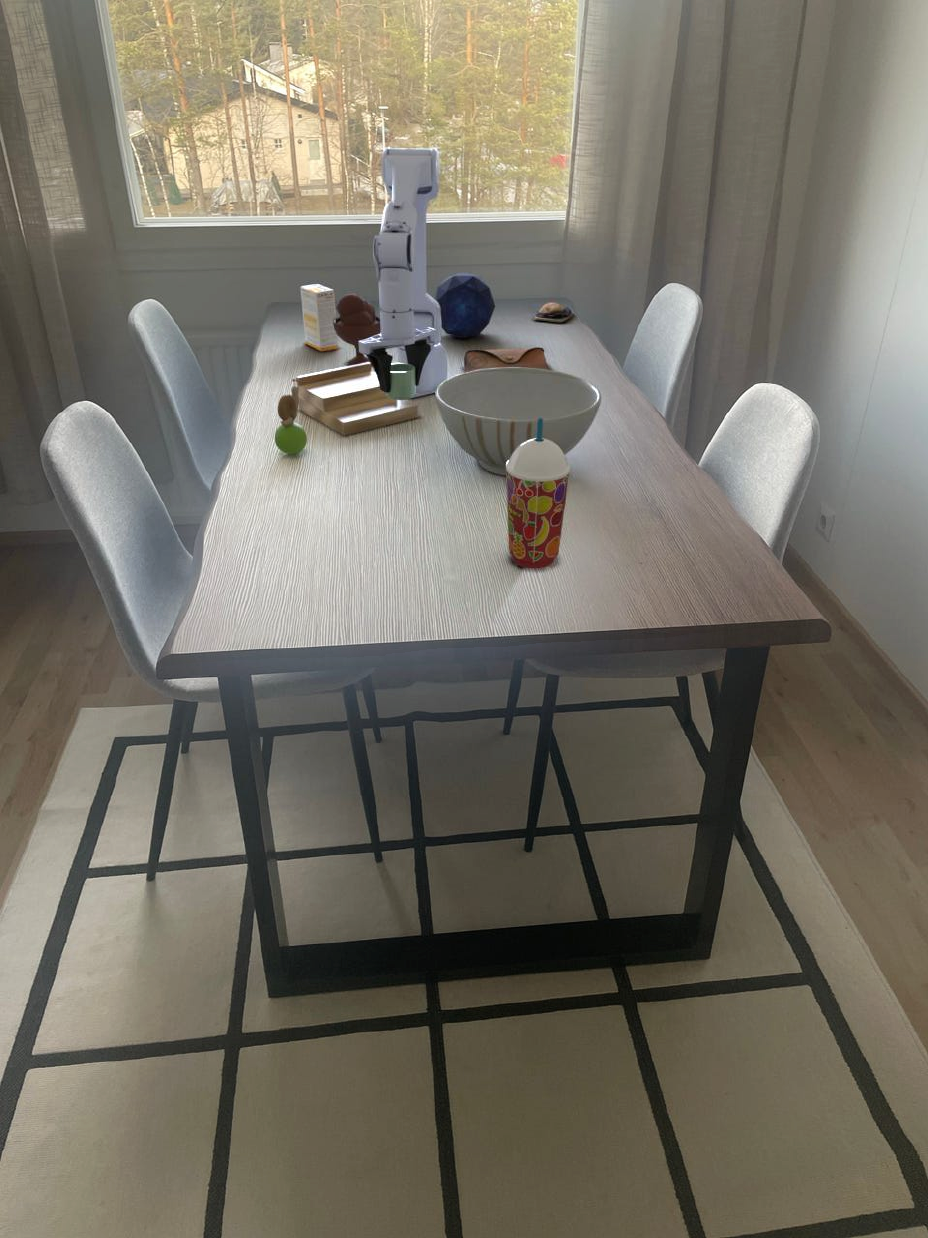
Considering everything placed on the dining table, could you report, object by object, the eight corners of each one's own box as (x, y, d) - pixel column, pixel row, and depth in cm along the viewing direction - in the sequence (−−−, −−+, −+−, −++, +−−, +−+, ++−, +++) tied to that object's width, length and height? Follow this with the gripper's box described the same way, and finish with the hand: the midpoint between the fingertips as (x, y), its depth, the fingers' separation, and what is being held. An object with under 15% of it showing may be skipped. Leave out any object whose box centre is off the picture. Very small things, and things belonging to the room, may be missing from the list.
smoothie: (499, 546, 129) (503, 408, 119) (558, 544, 130) (567, 406, 119) (506, 575, 122) (511, 431, 112) (568, 573, 123) (579, 430, 112)
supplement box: (339, 348, 212) (335, 289, 205) (320, 352, 209) (315, 292, 202) (323, 340, 217) (318, 282, 211) (304, 343, 215) (299, 285, 208)
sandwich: (562, 324, 231) (563, 309, 229) (530, 320, 234) (531, 305, 232) (575, 314, 239) (576, 299, 237) (544, 311, 242) (545, 296, 240)
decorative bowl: (483, 508, 140) (484, 432, 134) (410, 448, 160) (408, 380, 154) (627, 475, 151) (635, 404, 144) (541, 424, 171) (545, 359, 164)
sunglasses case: (470, 376, 193) (467, 344, 193) (465, 384, 200) (462, 353, 200) (553, 372, 196) (551, 340, 195) (545, 380, 203) (543, 349, 202)
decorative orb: (516, 311, 220) (484, 254, 217) (483, 325, 209) (450, 265, 207) (475, 341, 229) (444, 286, 227) (442, 355, 219) (409, 298, 216)
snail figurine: (316, 447, 160) (310, 379, 154) (299, 461, 155) (292, 391, 149) (288, 443, 162) (281, 376, 156) (270, 456, 157) (262, 387, 150)
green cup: (404, 388, 166) (403, 360, 164) (421, 396, 163) (421, 368, 160) (378, 394, 163) (377, 366, 161) (395, 402, 160) (394, 374, 157)
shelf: (418, 417, 173) (417, 383, 170) (344, 435, 165) (342, 400, 162) (370, 393, 185) (368, 361, 181) (299, 409, 177) (296, 376, 173)
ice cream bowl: (378, 372, 197) (374, 300, 189) (328, 369, 199) (322, 297, 191) (391, 358, 205) (388, 288, 197) (343, 355, 207) (338, 286, 199)
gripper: (372, 320, 149) (376, 402, 156) (445, 307, 156) (446, 385, 163) (350, 311, 153) (355, 391, 161) (421, 298, 161) (423, 375, 168)
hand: (399, 387), depth 162 cm, fingers closed on green cup, 5 cm apart
